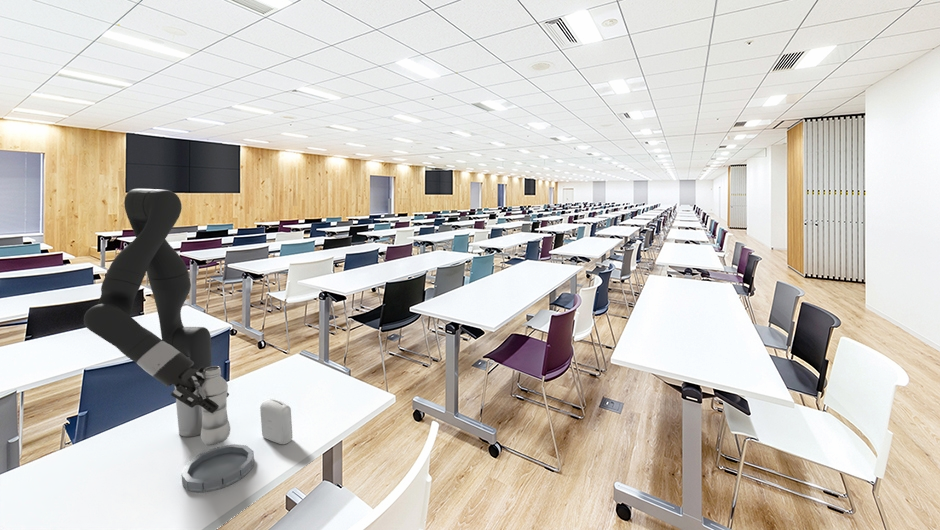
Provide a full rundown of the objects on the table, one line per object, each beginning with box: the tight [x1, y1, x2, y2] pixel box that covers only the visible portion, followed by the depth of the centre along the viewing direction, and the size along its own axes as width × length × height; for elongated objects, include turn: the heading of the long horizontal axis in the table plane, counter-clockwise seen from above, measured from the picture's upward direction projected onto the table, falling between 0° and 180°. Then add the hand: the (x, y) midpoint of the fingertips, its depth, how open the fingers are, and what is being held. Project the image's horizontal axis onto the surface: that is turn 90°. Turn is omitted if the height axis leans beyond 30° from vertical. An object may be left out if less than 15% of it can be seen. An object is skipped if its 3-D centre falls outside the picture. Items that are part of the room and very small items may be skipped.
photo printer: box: [259, 398, 293, 445], centre depth 118 cm, size 10×4×12 cm, turn 64°
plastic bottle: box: [200, 365, 231, 446], centre depth 101 cm, size 6×7×20 cm
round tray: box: [180, 443, 255, 493], centre depth 103 cm, size 16×16×2 cm
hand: (221, 403), depth 101 cm, fingers closed on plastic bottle, 6 cm apart
